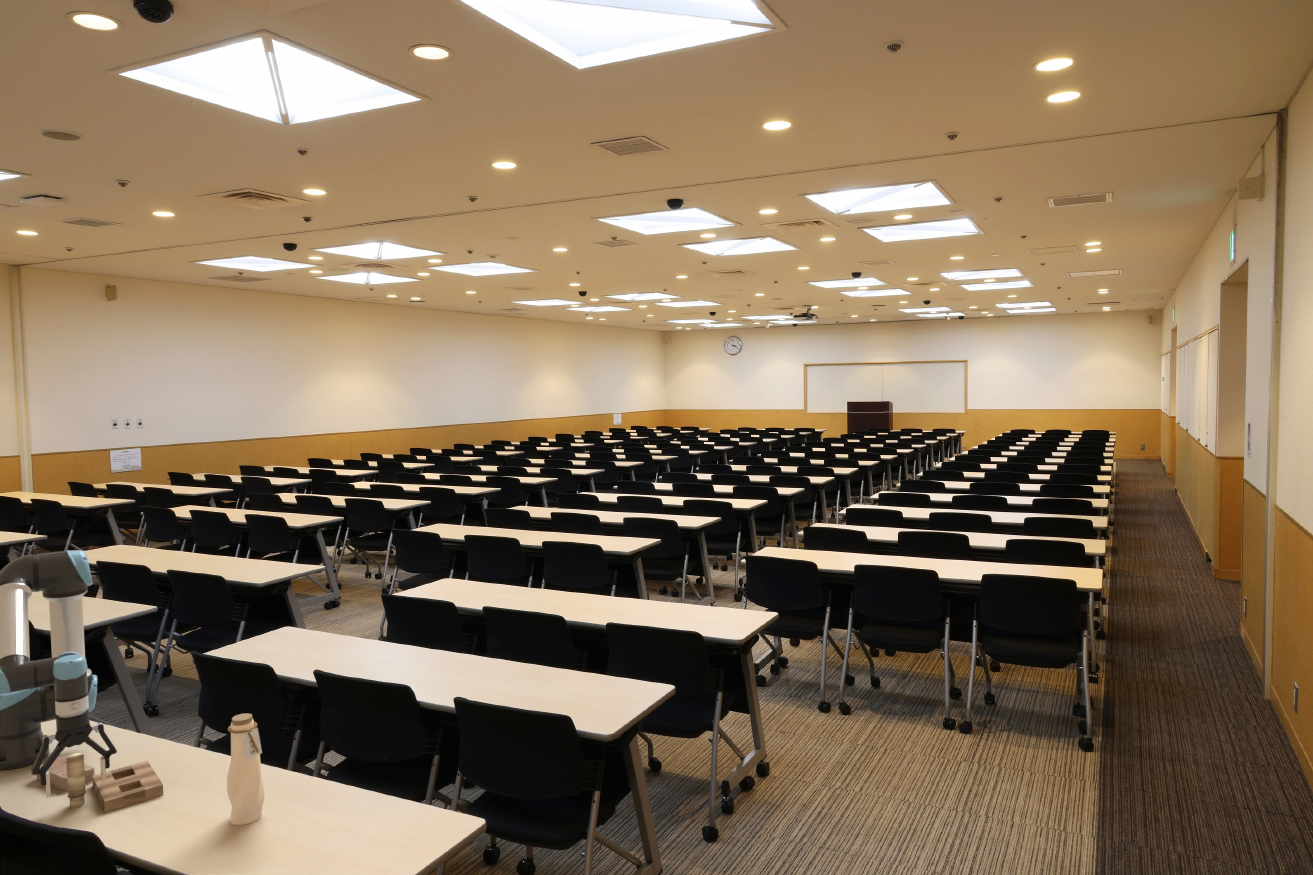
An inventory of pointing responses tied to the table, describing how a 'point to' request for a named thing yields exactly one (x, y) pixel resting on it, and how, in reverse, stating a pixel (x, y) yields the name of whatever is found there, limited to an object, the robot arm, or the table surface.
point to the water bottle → (245, 771)
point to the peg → (76, 779)
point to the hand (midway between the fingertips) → (76, 787)
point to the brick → (65, 773)
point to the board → (127, 786)
